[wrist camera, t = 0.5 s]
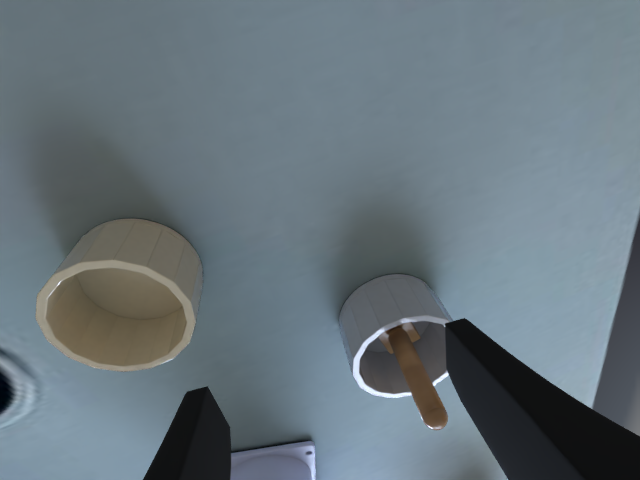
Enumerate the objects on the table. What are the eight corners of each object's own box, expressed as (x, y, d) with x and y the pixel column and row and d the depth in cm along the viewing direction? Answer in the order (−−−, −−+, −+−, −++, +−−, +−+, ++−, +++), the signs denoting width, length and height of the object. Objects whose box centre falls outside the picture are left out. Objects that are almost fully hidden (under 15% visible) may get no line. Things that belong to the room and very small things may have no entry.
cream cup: (211, 311, 22) (205, 362, 19) (94, 324, 21) (66, 379, 18) (191, 213, 19) (179, 253, 15) (52, 223, 18) (8, 268, 15)
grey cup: (427, 344, 26) (452, 389, 23) (338, 355, 25) (350, 404, 22) (442, 268, 23) (473, 309, 20) (339, 279, 22) (355, 323, 19)
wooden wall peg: (414, 326, 25) (471, 432, 18) (385, 342, 25) (431, 452, 19) (395, 295, 23) (449, 400, 17) (363, 312, 23) (405, 422, 17)
